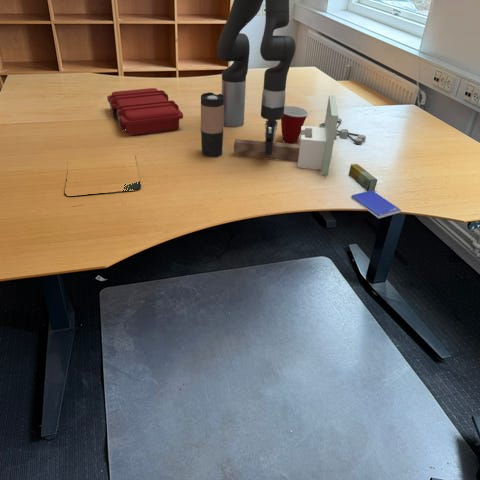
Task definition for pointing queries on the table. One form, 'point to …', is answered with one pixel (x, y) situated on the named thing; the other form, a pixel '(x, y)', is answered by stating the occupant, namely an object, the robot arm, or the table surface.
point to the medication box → (362, 177)
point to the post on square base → (258, 150)
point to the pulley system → (347, 134)
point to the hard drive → (375, 204)
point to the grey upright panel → (319, 141)
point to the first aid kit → (144, 111)
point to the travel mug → (212, 124)
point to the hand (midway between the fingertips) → (269, 149)
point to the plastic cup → (292, 123)
